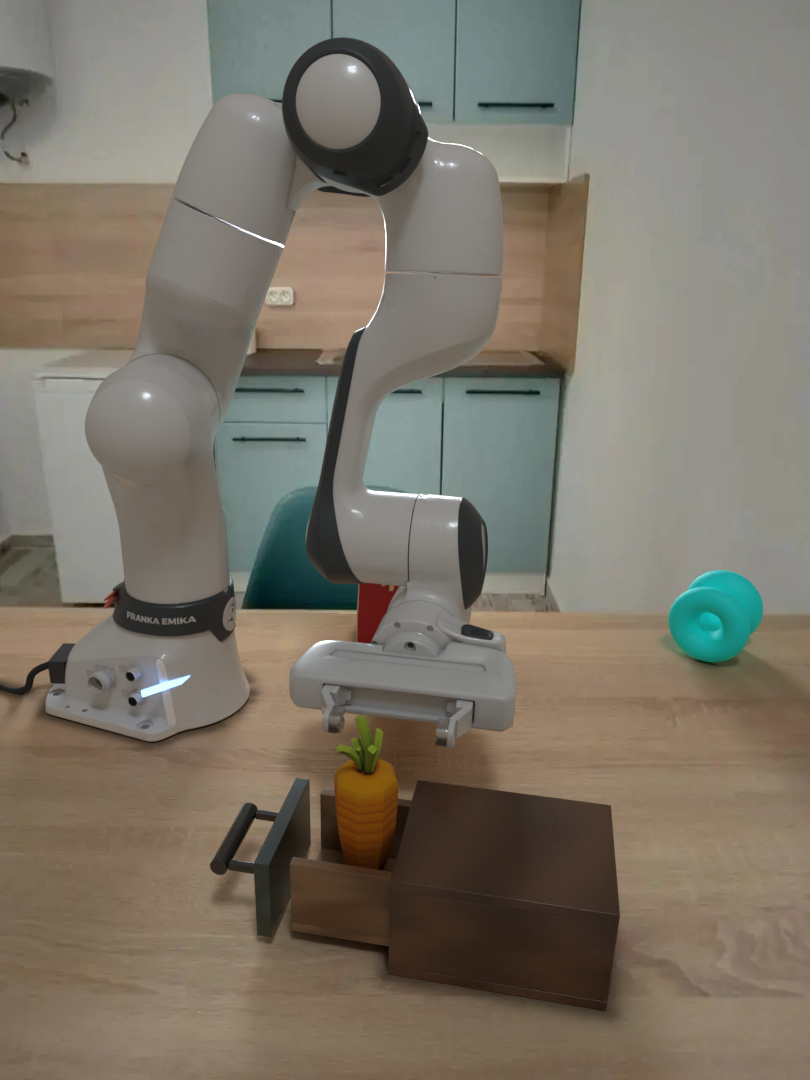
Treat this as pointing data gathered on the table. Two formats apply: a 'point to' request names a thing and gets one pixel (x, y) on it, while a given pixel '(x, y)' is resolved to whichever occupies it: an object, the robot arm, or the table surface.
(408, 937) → the cabinet
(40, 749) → the table surface
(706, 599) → the turquoise spool
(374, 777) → the carrot
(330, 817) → the drawer
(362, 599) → the milk carton
